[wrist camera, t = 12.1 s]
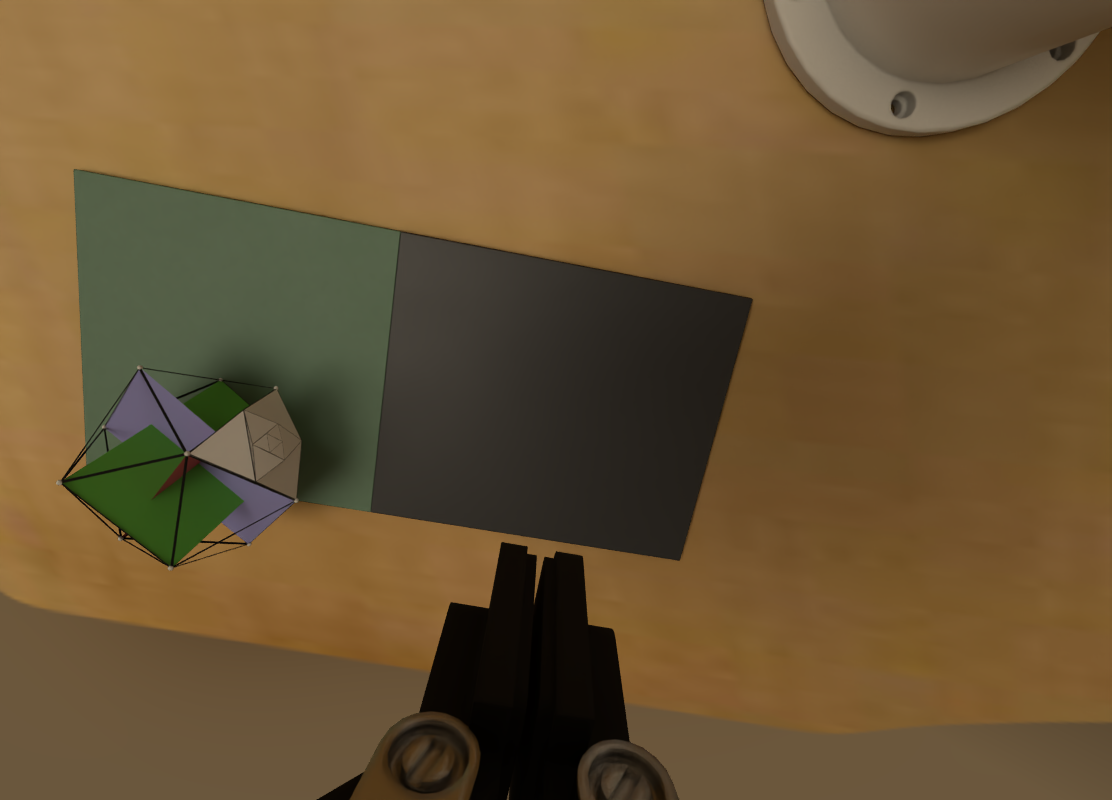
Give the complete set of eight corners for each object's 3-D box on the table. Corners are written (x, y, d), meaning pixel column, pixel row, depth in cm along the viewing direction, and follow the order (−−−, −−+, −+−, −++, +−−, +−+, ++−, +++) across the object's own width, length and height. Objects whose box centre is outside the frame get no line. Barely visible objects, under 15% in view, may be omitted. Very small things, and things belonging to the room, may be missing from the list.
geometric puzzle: (201, 592, 23) (177, 626, 16) (56, 480, 22) (-39, 465, 15) (331, 462, 26) (358, 445, 20) (212, 356, 25) (195, 297, 18)
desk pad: (79, 169, 21) (72, 168, 21) (750, 298, 23) (753, 298, 23) (91, 464, 24) (86, 467, 24) (678, 557, 26) (680, 560, 26)
